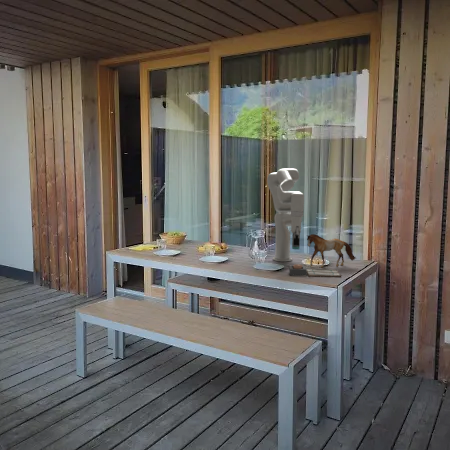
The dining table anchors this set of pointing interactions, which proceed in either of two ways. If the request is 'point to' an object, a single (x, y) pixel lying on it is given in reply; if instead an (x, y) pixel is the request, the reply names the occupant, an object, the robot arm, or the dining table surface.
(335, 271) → the board
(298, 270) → the button base
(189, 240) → the dining table surface
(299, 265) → the button
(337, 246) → the horse figurine
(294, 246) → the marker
